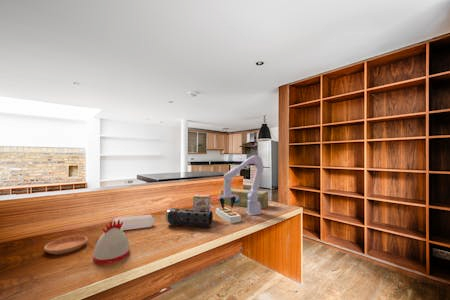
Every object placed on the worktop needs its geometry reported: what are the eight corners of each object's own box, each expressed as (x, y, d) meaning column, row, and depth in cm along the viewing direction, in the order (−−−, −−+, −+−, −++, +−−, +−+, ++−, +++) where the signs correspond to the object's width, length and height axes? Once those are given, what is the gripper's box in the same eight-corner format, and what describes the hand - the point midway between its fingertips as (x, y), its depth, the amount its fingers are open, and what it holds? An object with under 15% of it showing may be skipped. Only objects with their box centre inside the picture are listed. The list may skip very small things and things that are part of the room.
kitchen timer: (134, 254, 87) (135, 220, 87) (99, 267, 77) (100, 229, 77) (122, 245, 96) (122, 214, 97) (89, 255, 86) (89, 221, 86)
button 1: (224, 211, 148) (224, 207, 148) (227, 213, 144) (227, 208, 144) (219, 212, 146) (219, 207, 146) (221, 213, 142) (221, 209, 142)
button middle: (228, 213, 142) (228, 209, 142) (231, 215, 138) (231, 210, 138) (223, 214, 140) (223, 210, 140) (226, 216, 136) (226, 211, 136)
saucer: (81, 238, 104) (82, 232, 105) (92, 247, 94) (92, 241, 94) (41, 249, 92) (41, 243, 92) (47, 261, 82) (48, 253, 82)
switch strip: (225, 212, 151) (225, 207, 151) (240, 221, 130) (240, 215, 130) (215, 213, 148) (215, 208, 148) (230, 223, 126) (230, 217, 126)
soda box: (268, 205, 171) (268, 191, 171) (263, 209, 159) (263, 193, 159) (227, 200, 190) (227, 187, 190) (220, 204, 178) (220, 189, 178)
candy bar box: (192, 220, 132) (193, 196, 132) (194, 218, 137) (194, 194, 137) (209, 221, 131) (209, 196, 131) (210, 218, 136) (210, 195, 136)
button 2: (233, 216, 135) (233, 211, 135) (236, 218, 131) (236, 213, 132) (227, 217, 133) (227, 212, 134) (230, 219, 130) (230, 214, 130)
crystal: (153, 216, 129) (112, 221, 120) (154, 213, 123) (110, 218, 114) (154, 228, 125) (111, 233, 116) (154, 226, 119) (109, 231, 111)
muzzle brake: (208, 231, 114) (208, 213, 115) (164, 227, 120) (164, 210, 120) (212, 225, 124) (213, 208, 124) (171, 222, 129) (171, 206, 129)
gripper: (220, 191, 140) (220, 210, 140) (238, 189, 147) (238, 208, 146) (217, 189, 147) (216, 207, 146) (234, 188, 153) (234, 205, 153)
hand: (227, 207), depth 147 cm, fingers open, 7 cm apart
